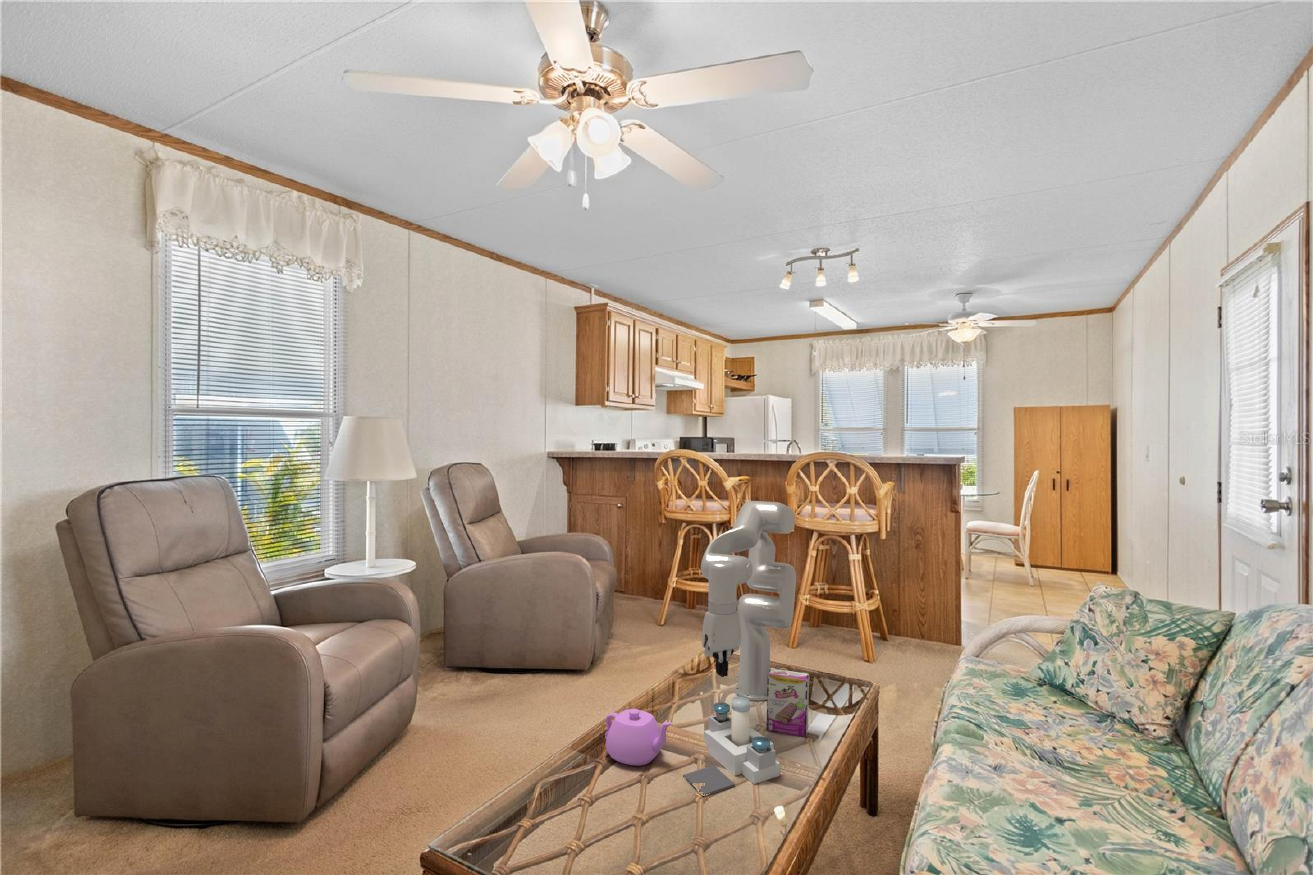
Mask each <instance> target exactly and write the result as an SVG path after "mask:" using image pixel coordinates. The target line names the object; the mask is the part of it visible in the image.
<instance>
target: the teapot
mask: <svg viewBox="0 0 1313 875" xmlns="http://www.w3.org/2000/svg"><path fill="white" fill-rule="evenodd" d="M611 718H614V719H613V721H612V722H611ZM605 724H606V729H607V731H605V733H604V737H605V741H606V743H605V748H606V752H607V753H608V755H609V756H610V758H612V759H613V760H614V761H616V762H619V763H621V764H623V765H624V764H625V765H628V766H629V765H630V766H637V767H638V766H640V767H641V766H645V765H647V764H649V763H650V762H652V761H653V760H654V759H655V758H656V757H657V755H659V753H660V751H661V749H662V748H663V747H664V746H665V744H666V742H667V731H668V727H669V726H670V725H673V722H672V721H666V722H663V723H662V724H661V725H660V726H659V724H658V722H657V720H656V719H655V717H654V715H653V714H651V713H650V712H648V711H644V710H639V709H638V708H630V709H629V708H628V709H625V710H622V711H621V712H619V713H618V712H610V713H608V715H607V716H606V717H605Z"/></svg>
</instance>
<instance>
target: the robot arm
mask: <svg viewBox="0 0 1313 875" xmlns="http://www.w3.org/2000/svg"><path fill="white" fill-rule="evenodd" d="M795 516H796V515H795V513H794V510H793V509H792V508H791V507H790V506H788V505H786V504H783V503H782V502H777V501H765V500H764V501H762V500H751V501H746V502H745V503H744V504H743V505H741V508H740V510H739V512H738V514H737V517H736V519H735V522H734V524H733V526H732V527H731V529H729V530H727V531H725V532H723V533H722V534H720V535H718V536H716V537H715V538H714V539H713V540H711V541H710V542H709V544H708V545H707V547H706V550H705V551H704V554H703V557H702V559H701V563H700V571H701V572H700V573H701V574H702V576H703V577H704V578H705V579H707V580H708V603H707V605H708V606H707V608H708V609H707V610H708V611H706V612H705V614H704V617H703V618H704V619H703V624H702V633H701V646H702V648H704V653H703V654H704V656H706V657H707V658H708V657H709V658H713V659H714V660H715V674H717V675H718V676H720V677H722V678H724V677H728V674H729V661H730V660H731V659H732V658H731V656H733V654H734V653H735V652H737V651H739V670H738V673H735V675H734V677H735V678H736V679H738V683H737V684H736V685H735V687H734V692H735V694H736V695H737V696H741V697H746V698H748V699H749V700H750V701H755V702H758V701H767V682H768V672H769V670H770V668H771V638H770V634H769V633H768V630H767V629H766V627H768V628H776V629H788V628H790V627H791V625H792V623H793V620H794V619H793V618H794V610H795V597H796V589H797V587H796V586H797V574H796V573H797V572H796V570H795V567H794V566H793V565H792V564H790V563H785V562H776V561H775V559H776V545H775V543H774V542H773V540H772V538H771V537H770V535H768V533H771V534H791V532H793V531H794V529H795V526H796V517H795ZM747 550H748V557H746V556H742V555H735V553H740V552H744V551H747ZM745 583H746V585H747V586H748V588H750V589H752V590H756V591H761V592H771V593H777V594H779V596H775V595H768V594H759V593H746V594H743V595H741V596H740V598H737V597H738V596H737V591H738V589H737V587H738V586H737V585H742V584H745Z"/></svg>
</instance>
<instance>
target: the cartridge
mask: <svg viewBox="0 0 1313 875" xmlns="http://www.w3.org/2000/svg"><path fill="white" fill-rule="evenodd" d="M750 702H751V700H749V699H748V698H746V697H741V696H738V695H737V696H734V697H732V698H731V717H730V718H731V742H732V743H733V744H735V745H736V746H737V747H739V746H743V745H746V744H749V726H750V710H751V708H750V705H751V704H750Z"/></svg>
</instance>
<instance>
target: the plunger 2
mask: <svg viewBox="0 0 1313 875" xmlns="http://www.w3.org/2000/svg"><path fill="white" fill-rule="evenodd" d="M770 741H771V740H770V739H769V738H768V737H765V736H764V737H760V736H759V737H754V738H753V739H752V746H753V747H754V748H755V751H757V752H758V753H759V754H761V753H764V752H767V749H769V748H770Z"/></svg>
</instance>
